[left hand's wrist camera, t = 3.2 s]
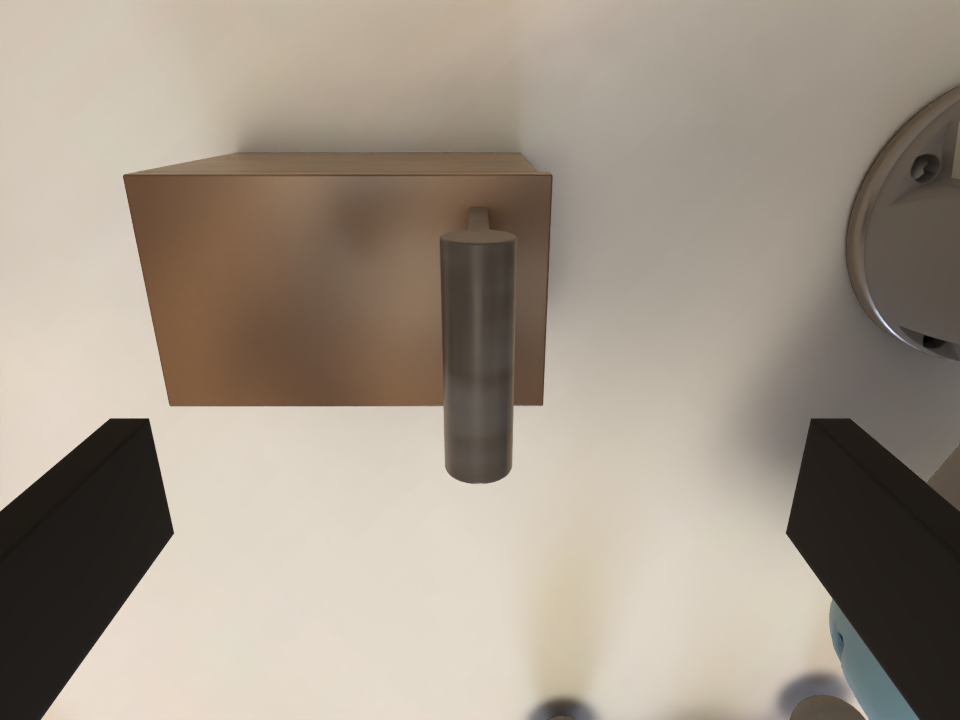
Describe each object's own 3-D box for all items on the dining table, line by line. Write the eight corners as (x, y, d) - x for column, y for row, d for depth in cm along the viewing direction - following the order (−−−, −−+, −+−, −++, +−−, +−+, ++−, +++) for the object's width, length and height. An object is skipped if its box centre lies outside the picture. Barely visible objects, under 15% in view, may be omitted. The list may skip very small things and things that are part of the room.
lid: (549, 171, 24) (584, 204, 16) (540, 396, 27) (565, 512, 19) (135, 171, 24) (-32, 204, 16) (179, 397, 27) (59, 513, 19)
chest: (521, 152, 33) (538, 171, 24) (517, 319, 37) (530, 396, 27) (235, 152, 33) (135, 171, 24) (258, 319, 37) (179, 396, 27)
